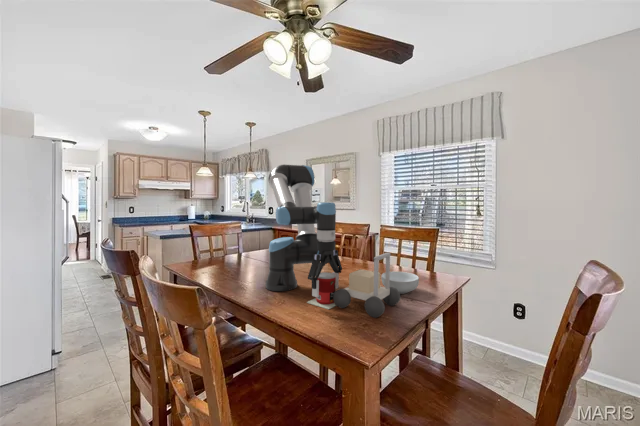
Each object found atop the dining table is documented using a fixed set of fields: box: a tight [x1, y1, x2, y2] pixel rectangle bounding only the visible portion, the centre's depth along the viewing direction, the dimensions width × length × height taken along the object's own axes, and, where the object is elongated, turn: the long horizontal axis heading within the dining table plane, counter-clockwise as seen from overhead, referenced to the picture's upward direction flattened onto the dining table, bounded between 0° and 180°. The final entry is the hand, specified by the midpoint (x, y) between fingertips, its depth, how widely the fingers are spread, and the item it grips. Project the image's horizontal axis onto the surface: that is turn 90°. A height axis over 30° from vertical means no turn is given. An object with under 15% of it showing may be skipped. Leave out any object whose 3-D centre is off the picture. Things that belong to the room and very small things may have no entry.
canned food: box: [315, 271, 337, 304], centre depth 113 cm, size 8×8×11 cm
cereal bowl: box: [380, 270, 420, 295], centre depth 128 cm, size 17×17×7 cm
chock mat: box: [306, 297, 338, 310], centre depth 114 cm, size 11×11×1 cm
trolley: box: [333, 252, 401, 319], centre depth 109 cm, size 21×16×21 cm
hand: (325, 292), depth 113 cm, fingers open, 13 cm apart
